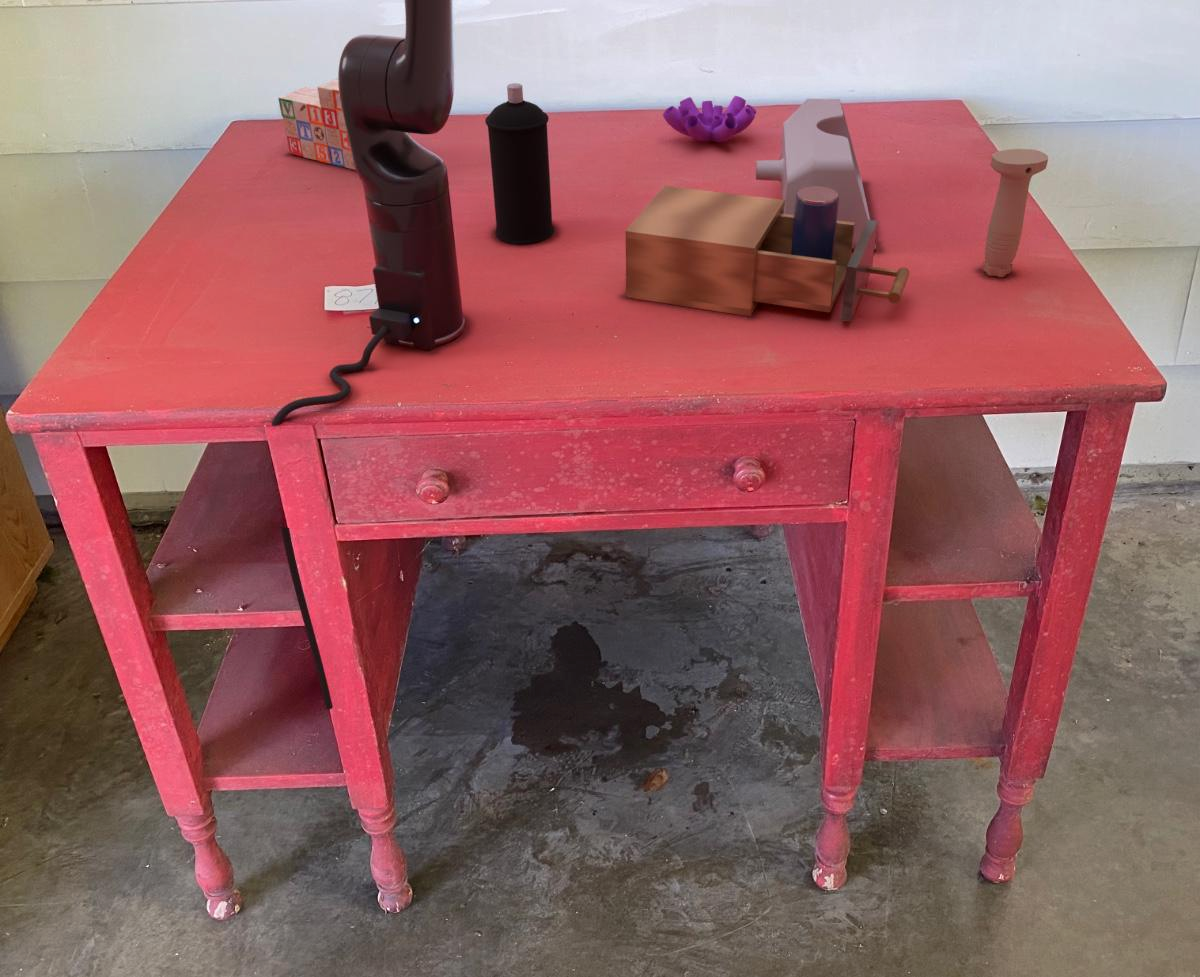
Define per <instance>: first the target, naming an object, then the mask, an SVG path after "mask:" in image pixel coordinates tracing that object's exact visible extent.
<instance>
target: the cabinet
mask: <svg viewBox="0 0 1200 977" xmlns="http://www.w3.org/2000/svg"><path fill="white" fill-rule="evenodd" d="M784 206H785V200H782V199H780V198H773V197H764V196H755V195H747V194H737V193H731V192H721V191H715V190H714V191H713V190H705V189H697V188H688V187H680V186H672V185H664V186H662V188H661V189H660V190H659V191H658V192H657V194H655V196H654V197H653V198H652V200H651V201H650V202H649V203H648V204H647V205H646V207H644V208H643V210H642V211H641V212H640V213H639V215H638V216H637V217H636V218H635V219H634V220H633V221H632V222H631V224H630V225H629V226H628V227H627V229H625V232H624V233H625V294H626V295H625V297H626V298H628V299H633V300H634V299H635V300H639V301H640V300H641V301H647V302H655V303H659V304H661V303H662V304H667V305H674V306H678V307H679V306H680V307H685V308H686V307H687V308H693V309H699V310H706V311H713V312H720V313H725V314H732V315H739V316H746V317H751V316H752V315H753V313H754V311H755V310H756V307H757V306H758V304H759V302H755V301H753V296H754V280H755V265H756V252H757V250H758V248H759V247H760V245H761V244H762V242H763V240H764V239H765V237H766V236H767V234H768V232H769V231H770V229H771V227H772V226H773V224H774V223H775V221H776V219H777V218H778V216H779V215H780V213H782V214H784Z"/></svg>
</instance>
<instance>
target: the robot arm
mask: <svg viewBox="0 0 1200 977" xmlns="http://www.w3.org/2000/svg"><path fill="white" fill-rule="evenodd" d="M404 10H405V34H404V36H393V35H383V34H382V35H381V34H367V33H366V34H359V35H357V36H354V37H352V38H351V39H349V41H348V42H347V43H346V44H345V46H344V47H343V50H342V52H341V55H340V59H339V65H338V71H337V72H338V73H337V74H338V75H337V78H338V86H339V94H340V101H341V107H342V112H343V116H344V121H345V125H346V130H347V134H348V139H349V144H350V148H351V153H352V158H353V163H354V166H355V169H356V170H355V172H356V175H357V176H358V178H359V179H360V181H361V184H362V187H363V193H364V199H365V204H366V206H365V207H366V211H367V217H368V218H367V219H368V225H369V232H370V237H371V244H372V250H373V256H374V262H375V263H374V264H375V266H374V267H373V268H372V274H373V281H374V287H375V293H376V300H377V306H378V308H377V309H375V311H373V312H372V313H371V314H370V315H369V316H368V317H369V319H368V320H369V325H370V331H371V335H372V338H371V339H370V341H369V342H368V343H367V345H366V346H365V348H364V350H363V353H362V357H361V359H360V360H359V361H357V362H355V363H346V364H338V365H335V366H334V367H333V368H332V369H331V370H330V371H329V377H330V379H331V381H332V382H333V383H334V384H336V385H337V386H339V387H340V388H341V390H340V391H339V392H337V393H333V394H328V395H327V394H326V395H319V396H318V395H317V396H310V397H304V398H300V399H295V400H293V401H290V402H289V403H287V404H286V405H284V406H283V407H282V408H281V409H279V411H277V413H276V414H275V416H274V418H273V420H272V421H271V426H272V427H277V426H280V425H281V424H282V423H283V421H284V420H285V419H286V418H287V416H288V415H289V414H290V413H292V412H294V411H297V410H299V409H302V408H305V407H311V406H322V405H329V404H335V403H338V402H339V403H340V402H341V401H343V400H345V399H347V397H349V395H350V394H351V392H352V386H351V385H350V384H349V383H348V381H347V380H346V379H344V378H343V377H342V376H340V374H344V373H355V372H359V371H360V370H363V369H364V368H366V367H367V366H368V364H369V362H370V360H371V356H372V353H373V352H374V350H375V349H376V347H377V346H378V345H379V343H380V342H381V341H382V340H383V342H384V343H386V344H387V343H388V344H391V345H392V344H393V345H397V346H402V347H409V348H415V349H420V350H424V351H425V350H426V351H431V350H432V349H434V347H437V346H439V345H443V344H446V343H447V342H451V341H453V340H455V339H456V338H457V337H459V336H460V335H461V334H462V333H463V331H464V330H465V327H466V321H465V315H464V311H463V310H464V309H463V302H462V301H463V300H462V294H461V285H460V274H459V267H458V257H457V256H458V255H457V248H456V240H455V230H454V223H453V221H454V220H453V214H452V212H453V211H452V203H451V194H450V183H449V175H448V174H449V173H448V168H447V165H446V163H445V161H444V160H443V159H442V158H441V157H440V156H439V155H437V154H436V153H435V152H433V151H431V150H429V149H427V148H426V147H424V146H423V145H422V144H420V143H418V141H417V140H415V139H414V138H413V137H412V136H411V134H417V135H434V134H437V133H439V132H440V131H441V130H442V129H443V128H444V126H445V125H446V123H447V122H448V120H449V117H450V115H451V112H452V107H453V102H454V94H455V78H456V77H455V76H456V75H455V74H456V73H455V71H456V70H455V68H456V66H455V63H456V62H455V29H454V28H455V25H454V22H455V21H454V0H404ZM408 133H409V134H410V135H409V134H408ZM373 335H374V336H373ZM280 530H281V531H280V532H281V537H282V541H283V545H284V550H285V556H286V560H287V563H288V567H289V572H290V576H291V580H292V584H293V588H294V592H295V595H296V600H297V603H298V607H299V610H300V614H301V617H302V618H301V619H302V620H303V625H304V628H305V632H306V636H307V640H308V643H309V647H310V650H311V654H312V657H313V658H312V659H313V661H314V665H315V669H316V672H317V676H318V681H319V685H320V688H321V693H322V697H323V700H324V701H323V702H324V706H325V709H326V710H328V711H329V710H332V709H333V707H334V705H333V702H332V697H331V692H330V688H329V684H328V680H327V676H326V672H325V668H324V664H323V660H322V657H321V652H320V649H319V644H318V641H317V637H316V634H315V630H314V627H313V623H312V619H311V614H310V611H309V608H308V604H307V600H306V597H305V593H304V589H303V585H302V581H301V576H300V573H299V568H298V565H297V562H296V561H297V560H296V556H295V551H294V547H293V541H292V538H291V533H290V532H291V530H290V527H287V526H283V525H280Z"/></svg>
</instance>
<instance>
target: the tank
mask: <svg viewBox="0 0 1200 977" xmlns="http://www.w3.org/2000/svg"><path fill="white" fill-rule="evenodd" d="M755 163H756V164H755V180H756V181H774V182H781V198H782V199H781V200H785V206H784V214H790V215H794V212H795V200H796V195H797V194H798V191H799V190H801V189H803V188H805V187H811V186H821V187H827V188H831V189H833V190H835V191H836V192H837V193H838V196H839V207H838V216H837V220H839V221H847V222H855V227H854V236H853V244H852V250H854V249H855V247H856V245H857V243H858V241H859V238H860V236H861V234H862V232H863V230H864V228H865V225H866V223H867V221H868V220H871V218H870V217H871V216H870V213H869V207H868V204H867V199H866V194H865V189H864V184H863V180H862V175H861V172H860V168H859V165H858V161H857V156H856V152H855V150H854V146H853V142H852V138H851V134H850V131H849V126H848V123H847V120H846V116H845V112H844V108H843V104H842V101H841V98H806V99H805V100H804V101H803V102H802V103H801V104H800V105H799V107H797V109H796V110H794V111H793V113H792V114H791V115H790V116H789V117H787V119H786V120H784V122H783V124H782V137H781V151H780V159H763V160H762V159H761V160H760V159H759V160H756V162H755ZM876 250H877V246H876V245H875V247H874V251H876Z"/></svg>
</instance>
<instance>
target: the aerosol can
mask: <svg viewBox="0 0 1200 977" xmlns="http://www.w3.org/2000/svg"><path fill="white" fill-rule="evenodd" d="M506 90H507V91H506V92H507V101H505V102H502V103H500V104H498V105H496V106H495V107H494V108H493V109H492V110H491V111H490V113H489V115H487V116H486V117H485V120H484V122H485V125H486V126H487V132H488V144H489V155H490V156H489V158H490V167H491V168H490V169H491V179H492V190H493V202H494V213H495V226H496V228H495V230H494V234H495V237H496V238H497V239H498V240H500V241H501V242H504V243H506V244H510V245H519V246H520V245H521V246H522V245H523V246H524V245H533V244H537V243H541V242H544V241H546V240H548V239H549V238H551V237H553V235H554V234H555V226H554V225H553V212H552V211H553V210H552V196H551V195H552V194H551V175H550V156H549V140H548V139H549V137H548V122H549V115H548V114H547V113H546V112H544V111H543V109H542V108H541V107H539V106H538V105H537V104H535V103H533V102H530V101H528V100H527V101H526V100H524V93H523V92H524V90H523V85H522V84H521V83H517V82H516V83H509V84H508V85H507V86H506Z"/></svg>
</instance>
